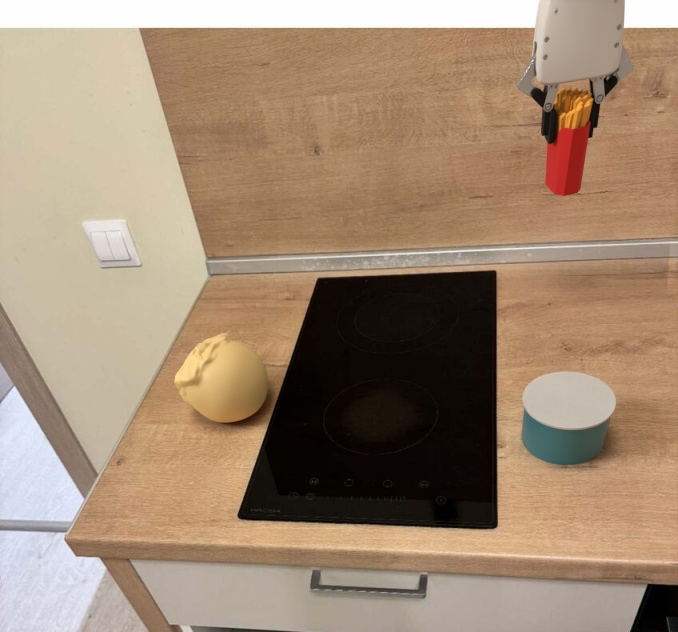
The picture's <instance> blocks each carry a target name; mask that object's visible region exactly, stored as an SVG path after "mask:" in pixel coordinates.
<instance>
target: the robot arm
mask: <svg viewBox="0 0 678 632" xmlns="http://www.w3.org/2000/svg"><path fill="white" fill-rule="evenodd" d="M625 8H626V0H538V4H537V11H536V18H535V24H534V25H535V26H534V30H533V31H534V32H533V42H532V49H531V51H532V52H531V57H530V60H529V61H528V63H527V65H525V67H524V70H523V71H522V73H521V75H520V76H519V78H518V79H517V81H516V83H515V84H516V87H517V89H518V90H519V91H520V92H522V93H523V94H526V96H528V97H530V98H532V100H534V101H535V103H537V104H538V106H540V107H541V123H540V135H541V136H542V137H544V139H545V141H546V143H547V142H548V144H552V143H553V142H554V139H555V128H556V116H557V112H556V110H555V108H554V107H555V105H554V102H555V99H556V94H557V92H558V91H559V88H560V85H562V84H568V83H574V82H581V81H586V80H588V87H589V89H588V90H589V93H590V92H591V98H593V103H592V108H591V112H590V117H589V121H590V122H591V123H590V130H589V136H588V139H592V138H593V137H594V129H597V128H598V125H599V118H600V110H601V104H602V103H603V102H604V101H605V98H606V97H607V96H608V94H610V92H611V91H613V90H614V88H615V87H616V86H617V84H618V83H619V82H620V81H622V80H623V79H625V78H626V77H627V76H628V75H629V74H631V73H632V72H633V71H634V68H635V65H634V63H633V61H632V59H631V58H630V56H629V54H628V52H627V50H626V47H625V46H624V44H623V42H624V41H623V40H624V33H625V32H624V29H625V13H626V11H625V10H626V9H625ZM534 77H536V82H537V83H538V84H539V85H542V86H543V87H542V89H541V88H540V87H539V86H538V85H536V84H534V83H533V81H532V80H533V79H534Z"/></svg>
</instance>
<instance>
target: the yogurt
mask: <svg viewBox="0 0 678 632" xmlns="http://www.w3.org/2000/svg"><path fill="white" fill-rule="evenodd" d="M521 401H522V402H521V403H522V406H523V414H522V424H521V425H522V426H521V435H520V439H521V442H522V444H523V446H524V448H525V449H526V450H527V451H528V452H529V454H530V455H532V456H533V457H535V458H537V459H539V460H541V461H543V462H546V463H549V464H552V465H558V466H559V465H560V466H574V465H580V464H583V463H587V462H589V461H591V460H593V459H594V458H596V457H597V456H598V455H600V453H601V452H602V450H603V449H604V446H605V442H606V437H607V434H608V429H609V425H610V420H611V417H612V416H613V414H614V413H615V410H616V407H617V397H616V394H615V393H614V391H613V389H612V388H611V386H609V385H608V384H607V383H606V382H605V381H603V380H601V379H599V378H598V377H596V376H593V375H590V374H587V373H583V372H579V371H565V370H563V371H554V372H549V373H545V374H542V375H540V376H538V377H536V378H534V379H533V380H531V381H530V382H529V383H528V384H527V385H526V386H525V388H524V389H523V392H522V399H521Z"/></svg>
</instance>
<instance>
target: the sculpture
mask: <svg viewBox="0 0 678 632" xmlns="http://www.w3.org/2000/svg"><path fill="white" fill-rule="evenodd" d="M174 385H175V387H176V388H177V389H178V391H179V395H180V397H182V400H183V402H184V403H187V404H189V405H190V406H191V407H192V408H194V409H195V410H196V411H197V412H198V413H199V414H201V415H202V416H203V417H205V418H206V419H208V420H211V421H213V422H217V423H234V422H239V421H243V420H246V419H247V418H250V417H251V416H253V415H254V414H256V413H257V412H258V411H259V410H260V409H261V408H262V406H263V405H264V402H265V400H266V398H267V395H268V391H269V375H268V370H267V367H266V365H265V363H264V361H263V359H262V358H261V356H260V355H259V353H257V351H255V350H254V349H253V348H251V347H250V346H249V345H246V344H245V343H244V342H243V343H242V342H240V341H237V340H234V339H232V337H231V335H230V334H229V333H227V332H222V333H219V334H217V335H215V336H213V337H210V338H206V339H205V340H203V341H201V342H198V343H197V344H196V345H195V346H194V348H193V349H192V350H191V351H190V353H189V354H188V355H187V357H186V358H185V360H184V362H183V364H182V365H181V367H180V368H179V370H178V371H177V372H176V374H175V376H174Z"/></svg>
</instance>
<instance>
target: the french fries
mask: <svg viewBox="0 0 678 632" xmlns="http://www.w3.org/2000/svg"><path fill="white" fill-rule="evenodd" d="M592 103H593V98H591V92H590V91H589V89H586V90H583V89H580V90H579V88H578V87H575V88H574V89H573V87H568V88H567V89H566V87H562V88H560V89H558V91H557V94H556V98H555V102H554V105H555V107H554V108H555V110H556V112H557V116H556V128H555V139H554V142H553V143H552V144H548V142H547V141H546V143H547V145H546V147H547V148H546V162H545V177H544V178H545V181H544V184H545V186H546V187H547V188H548V190H550V192H552V193H553V195H556V196H562V197H567V196H570V195H576V194H578V193H579V192H580V190H581V188H582V182H583V175H584V168H585V162H586V155H587V148H588V143H589V138H588V136H589V130H590V123H591V122H590V121H589V117H590V112H591V108H592Z"/></svg>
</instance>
